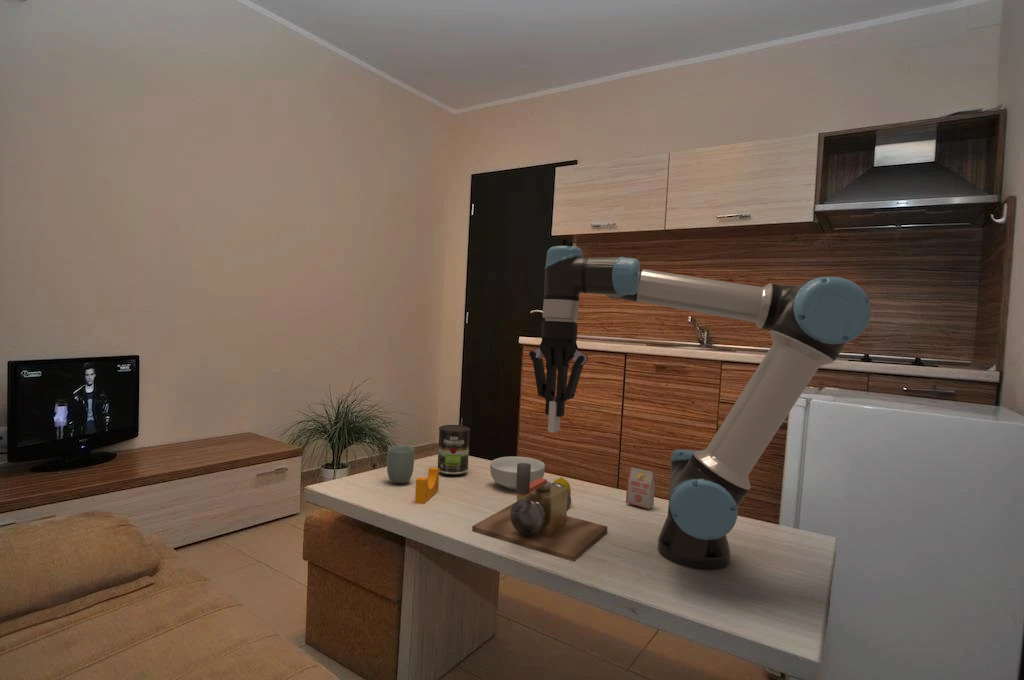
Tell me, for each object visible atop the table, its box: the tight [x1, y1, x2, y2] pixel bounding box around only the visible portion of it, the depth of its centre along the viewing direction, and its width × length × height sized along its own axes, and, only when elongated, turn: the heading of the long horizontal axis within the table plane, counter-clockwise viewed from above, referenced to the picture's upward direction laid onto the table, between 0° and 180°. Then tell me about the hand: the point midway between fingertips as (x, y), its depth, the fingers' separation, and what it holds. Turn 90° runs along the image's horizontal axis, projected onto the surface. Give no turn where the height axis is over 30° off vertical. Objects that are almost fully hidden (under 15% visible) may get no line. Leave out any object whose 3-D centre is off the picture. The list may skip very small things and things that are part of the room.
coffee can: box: [436, 424, 471, 475], centre depth 167 cm, size 10×10×14 cm
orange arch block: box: [414, 466, 440, 505], centre depth 142 cm, size 12×4×6 cm, turn 170°
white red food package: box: [625, 466, 656, 510], centre depth 144 cm, size 4×7×10 cm, turn 54°
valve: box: [510, 482, 572, 538], centre depth 121 cm, size 9×16×9 cm, turn 149°
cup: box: [386, 444, 415, 484], centre depth 153 cm, size 8×8×10 cm
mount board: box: [471, 501, 609, 562], centre depth 121 cm, size 26×20×2 cm
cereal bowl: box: [489, 456, 546, 491], centre depth 154 cm, size 17×17×7 cm
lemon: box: [552, 476, 572, 496], centre depth 139 cm, size 6×6×8 cm
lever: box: [515, 463, 552, 496], centre depth 116 cm, size 13×4×8 cm, turn 149°
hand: (553, 431), depth 108 cm, fingers closed
